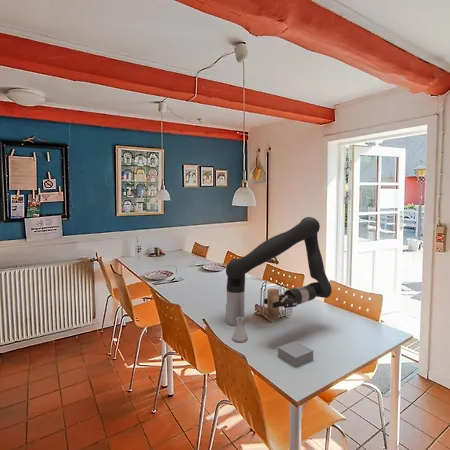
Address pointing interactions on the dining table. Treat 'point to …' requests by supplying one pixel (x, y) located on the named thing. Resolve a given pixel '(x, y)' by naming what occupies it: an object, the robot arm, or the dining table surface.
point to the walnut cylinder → (271, 298)
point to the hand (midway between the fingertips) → (268, 303)
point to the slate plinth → (295, 353)
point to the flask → (239, 331)
